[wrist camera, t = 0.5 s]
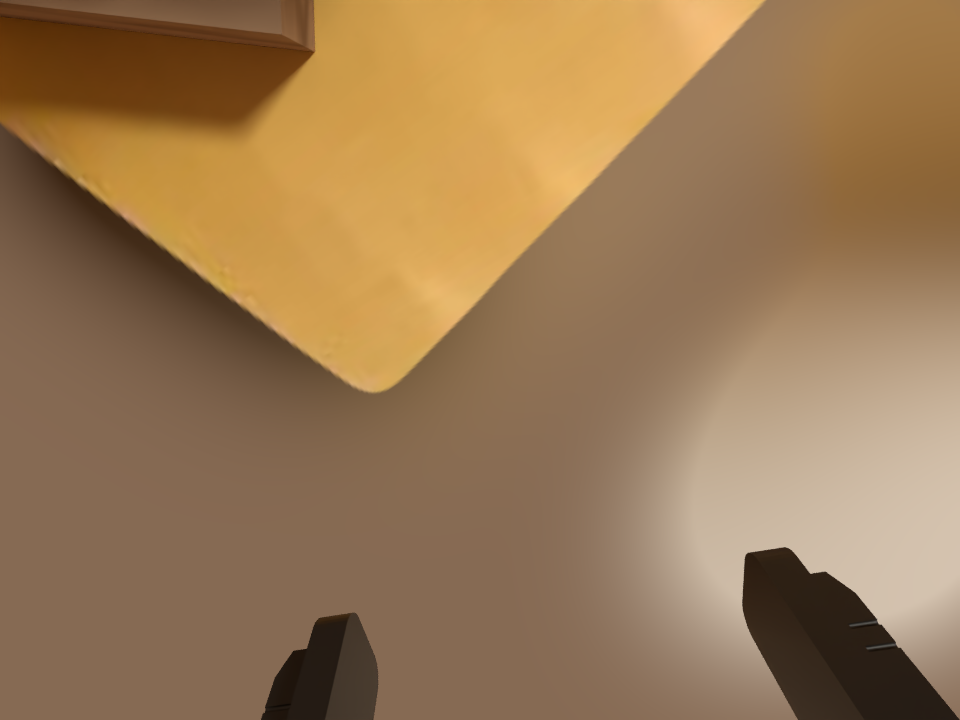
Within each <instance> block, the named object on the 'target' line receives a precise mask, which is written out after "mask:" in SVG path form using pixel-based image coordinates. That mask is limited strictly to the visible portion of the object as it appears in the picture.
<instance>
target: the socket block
mask: <svg viewBox="0 0 960 720" xmlns="http://www.w3.org/2000/svg"><path fill="white" fill-rule="evenodd" d="M0 16H1V17H10V18H19V19H28V20H37V21H45V22H54V23H63V24H72V25H81V26H90V27H99V28H108V29H116V30H125V31H134V32H143V33H152V34H161V35H170V36H179V37H187V38H196V39H205V40H214V41H223V42H232V43H241V44H250V45H259V46H267V47H276V48H285V49H294V50H303V51H312V52H315V35H314V3H313V0H0Z"/></svg>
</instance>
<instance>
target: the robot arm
mask: <svg viewBox="0 0 960 720" xmlns="http://www.w3.org/2000/svg"><path fill="white" fill-rule="evenodd" d="M742 603H743V604H742V606H743V612H744V616H745V620H746V623H747V626H748V629H749V631H750V633H751V635H752V638H753V639H754V641H755V643H756V645H757V646H758V649H759V650H760V652H761V654H762V656H763V658H764V659H765V661H766V663H767V665H768V667H769V668H770V670H771V672H772V674H773V675H774V677H775V679H776V681H777V683H778V685H779V686H780V688H781V690H782V692H783V693H784V695H785V697H786V699H787V701H788V703H789V704H790V706H791V708H792V710H793V711H794V713H795V715H796V717H797V719H798V720H959V718H958V717H957V716H956V715H955V713H954V712H953V711H952V710H951V709H950V707H949V706H948V705H947V704H946V703H945V701H944V700H943V699H942V698H941V697H940V695H939V694H938V693H937V692H936V690H935V689H934V688H933V687H932V686H931V684H930V683H929V682H928V681H927V679H926V678H925V677H924V676H923V675H922V673H921V672H920V671H919V670H918V669H917V667H916V666H915V665H914V664H913V662H912V661H911V660H910V659H909V658H908V656H907V655H906V654H905V653H904V652H903V650H902V649H901V648H898V647H897V645H896V642H895V641H894V639H893V638H892V637H891V636H890V635H889V633H888V632H887V631H886V630H885V628H884V627H883V626H882V625H879V624H878V622H877V619H876V618H875V616H874V615H873V614H872V613H871V612H870V610H869V609H868V608H867V607H866V605H865V604H864V603H863V602H862V601H861V599H860V598H859V597H858V596H857V594H856V593H855V592H853V591H852V590H851V589H849V588H848V587H846V586H845V585H844V584H842V583H841V582H839V581H838V580H837V579H835V578H834V577H832V576H831V575H829V574H828V573H827V572H820V573H813V574H810V573H809V572H808V571H807V569H806V568H805V566H804V565H803V564H802V562H801V561H800V560H799V559H798V557H797V556H796V555H795V554H794V552H792V550H790V549H789V548H786V547H784V548H777V549H771V550H764V551H758V552H751V553H747V554H746V556H745V565H744V583H743V600H742ZM377 691H378V669H377V663H376V659H375V655H374V653H373V651H372V649H371V646H370V644H369V641H368V639H367V636H366V634H365V632H364V630H363V627H362V624H361V622H360V620H359V617H358V615H357V614H356V613H348V614H342V615H335V616H329V617H322V618H319V619H318V620H317V621H316V622H315V625H314V627H313V630H312V634H311V637H310V641H309V644H308V648H307V649H303V650H296V651H293V652H292V654H291V655H290V657H289V658H288V660H287V661H286V662H285V664H284V665H283V667H282V668H281V670H280V671H279V673H278V674H277V676H276V677H275V679H274V682H273V685H272V688H271V691H270V694H269V697H268V700H267V703H266V706H265V708H266V711H265V713H263V715H262V718H261V720H373V718H374V712H375V705H376V698H377Z"/></svg>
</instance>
